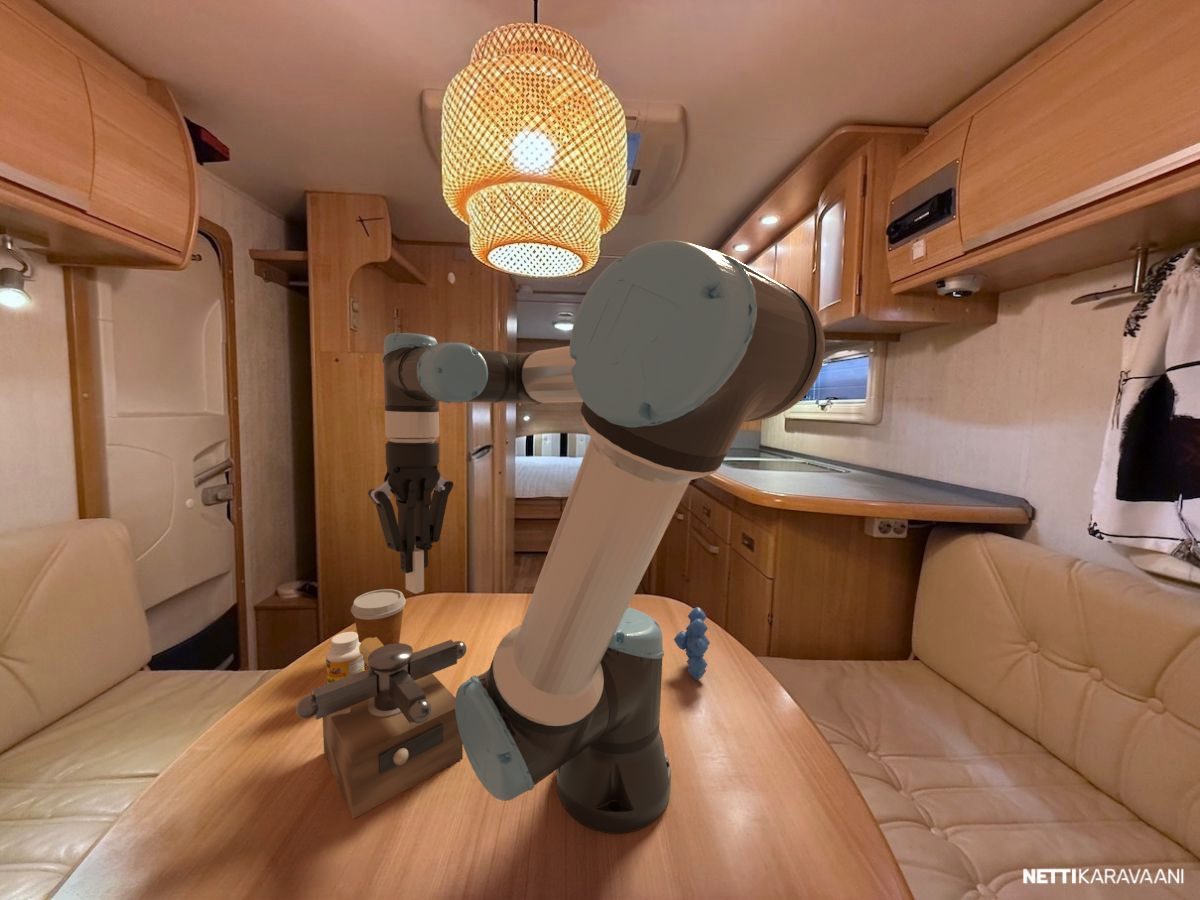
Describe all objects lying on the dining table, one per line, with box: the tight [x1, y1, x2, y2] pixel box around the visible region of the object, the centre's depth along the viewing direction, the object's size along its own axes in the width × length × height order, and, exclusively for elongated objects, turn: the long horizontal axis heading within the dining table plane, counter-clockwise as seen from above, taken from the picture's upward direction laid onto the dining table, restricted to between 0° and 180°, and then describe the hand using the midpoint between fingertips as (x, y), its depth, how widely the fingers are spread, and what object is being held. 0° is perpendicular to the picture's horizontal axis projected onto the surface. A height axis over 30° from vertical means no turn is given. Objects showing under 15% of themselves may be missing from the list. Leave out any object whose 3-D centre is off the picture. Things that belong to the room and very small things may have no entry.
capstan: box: [295, 637, 467, 723], centre depth 63 cm, size 22×22×7 cm
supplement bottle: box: [325, 631, 365, 684], centre depth 76 cm, size 6×6×10 cm
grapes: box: [673, 606, 711, 681], centre depth 85 cm, size 12×7×12 cm, turn 172°
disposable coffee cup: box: [350, 588, 407, 666], centre depth 87 cm, size 10×10×12 cm
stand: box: [322, 673, 464, 820], centre depth 63 cm, size 16×14×8 cm
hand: (414, 589), depth 71 cm, fingers closed
